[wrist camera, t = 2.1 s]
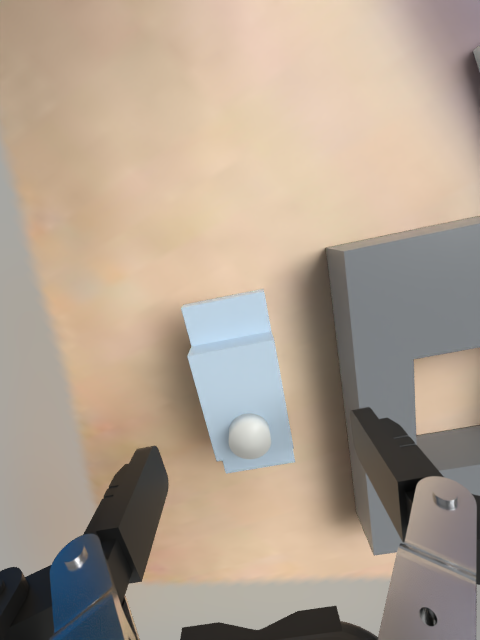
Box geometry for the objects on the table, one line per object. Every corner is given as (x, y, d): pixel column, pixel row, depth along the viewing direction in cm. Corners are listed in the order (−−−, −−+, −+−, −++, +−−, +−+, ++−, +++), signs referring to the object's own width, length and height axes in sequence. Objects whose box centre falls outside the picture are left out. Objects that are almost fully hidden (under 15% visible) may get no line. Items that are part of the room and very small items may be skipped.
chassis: (325, 247, 16) (343, 251, 14) (586, 193, 16) (664, 185, 13) (356, 513, 22) (373, 555, 19) (548, 484, 21) (596, 523, 18)
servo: (192, 292, 17) (171, 320, 12) (258, 278, 17) (268, 301, 12) (228, 432, 20) (224, 504, 15) (285, 422, 20) (302, 492, 15)
